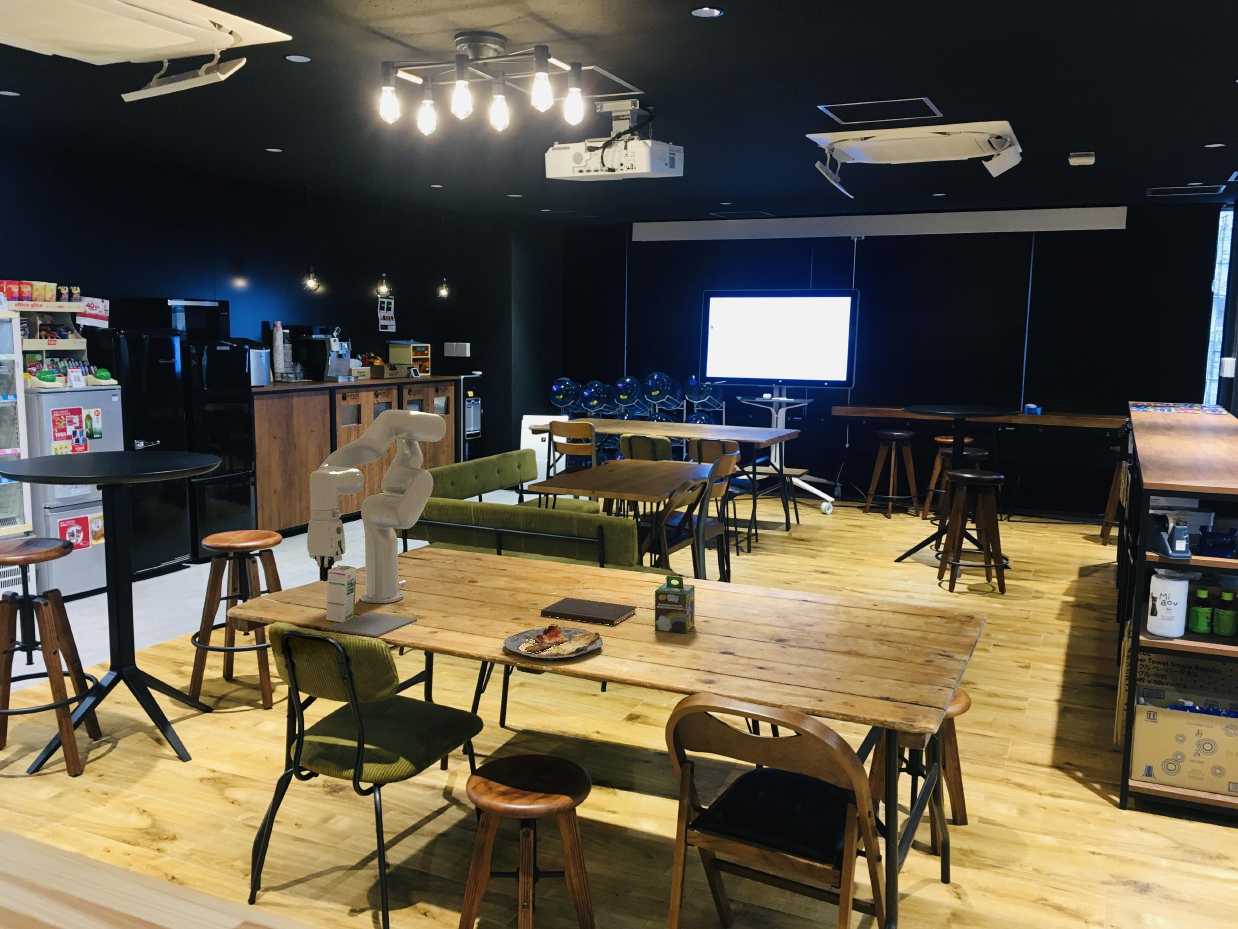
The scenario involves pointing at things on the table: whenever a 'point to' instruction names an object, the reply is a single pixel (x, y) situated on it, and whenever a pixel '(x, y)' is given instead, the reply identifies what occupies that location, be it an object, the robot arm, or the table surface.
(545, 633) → the food plate
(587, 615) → the hardcover book
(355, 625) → the rubber mat
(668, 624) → the chalk box
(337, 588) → the syrup box
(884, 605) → the table surface
